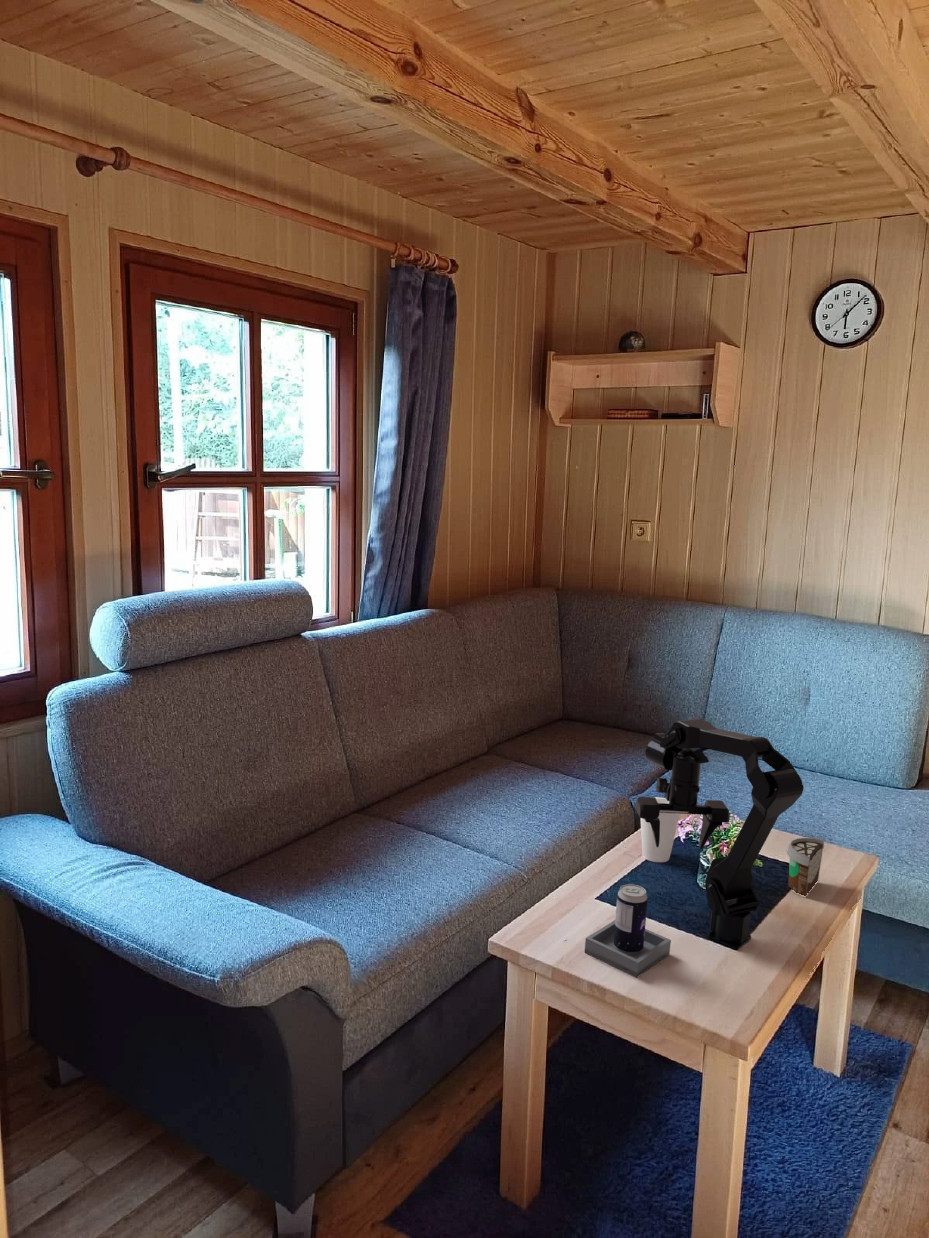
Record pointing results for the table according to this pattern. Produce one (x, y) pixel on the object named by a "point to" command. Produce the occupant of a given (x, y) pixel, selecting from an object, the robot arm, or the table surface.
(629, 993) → the table surface
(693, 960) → the table surface
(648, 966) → the tray
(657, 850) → the foam cup
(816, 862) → the food container
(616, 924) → the beverage can
